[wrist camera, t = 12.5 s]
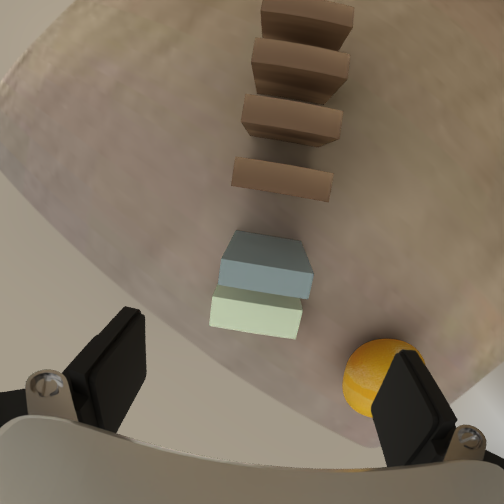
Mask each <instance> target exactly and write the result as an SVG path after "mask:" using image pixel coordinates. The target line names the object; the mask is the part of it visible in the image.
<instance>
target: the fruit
mask: <svg viewBox="0 0 504 504" xmlns="http://www.w3.org/2000/svg"><path fill="white" fill-rule="evenodd" d="M402 349H404V350H415V351H416V352H417V353H418V355H419V356H420V358H421V359H422V361H423V362H424V359H423V357H422V356H421V354H420V353H419V351H418V350H417V349H416V348H415V347H413V346H412V345H410V344H408V343H406V342H404V341H401V340H396V339H377V340H373V341H370V342H367V343H365V344H363V345H362V346H360V347H359V348H358V349H357V350H356V351H355V352H354V353H353V354H352V355H351V356H350V358H349V360H348V362H347V365H346V368H345V372H344V377H343V385H342V386H343V394H344V397H345V399H346V401H347V402H348V404H349V405H350V406H351V407H352V408H353V409H354V410H355V411H357V412H358V413H360V414H362V415H364V416H367V417H372V414H371V405H372V403H373V401H374V399H375V397H376V395H377V393H378V391H379V389H380V386H381V384H382V382H383V380H384V378H385V376H386V374H387V371H388V369H389V367H390V365H391V363H392V360H393V358H394V356H395V354H396V353H399V352H400V351H401V350H402ZM424 364H425V362H424ZM372 418H373V417H372Z"/></svg>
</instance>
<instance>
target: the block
mask: <svg viewBox="0 0 504 504" xmlns="http://www.w3.org/2000/svg"><path fill="white" fill-rule="evenodd" d="M302 311H303V310H302V305H301V300H300V298H296V297H290V296H283V295H277V294H270V293H264V292H258V291H252V290H246V289H240V288H234V287H228V286H222V285H217V287H216V289H215V292H214V294H213V296H212V305H211V314H210V323H209V326H214V327H219V328H225V329H231V330H237V331H243V332H249V333H255V334H262V335H269V336H275V337H282V338H290V339H296V336H297V332H298V328H299V324H300V320H301V316H302Z"/></svg>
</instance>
